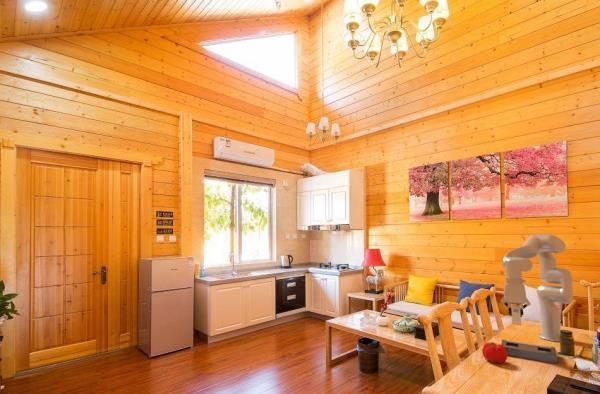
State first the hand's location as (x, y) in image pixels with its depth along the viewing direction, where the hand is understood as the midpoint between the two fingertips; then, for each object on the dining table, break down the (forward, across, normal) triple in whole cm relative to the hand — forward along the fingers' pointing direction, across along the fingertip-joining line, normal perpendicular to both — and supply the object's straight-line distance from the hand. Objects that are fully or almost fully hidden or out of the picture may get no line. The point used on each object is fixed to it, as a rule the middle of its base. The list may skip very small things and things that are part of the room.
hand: (516, 315), depth 183 cm
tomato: (+20, +10, +20) cm, 30 cm away
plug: (+4, 0, 0) cm, 4 cm away
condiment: (+20, -22, -12) cm, 32 cm away
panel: (+19, -4, 0) cm, 20 cm away
